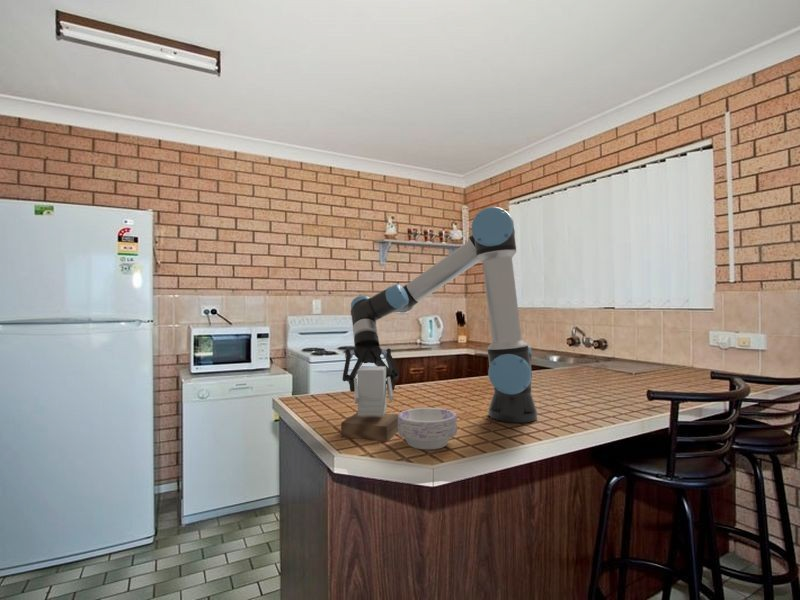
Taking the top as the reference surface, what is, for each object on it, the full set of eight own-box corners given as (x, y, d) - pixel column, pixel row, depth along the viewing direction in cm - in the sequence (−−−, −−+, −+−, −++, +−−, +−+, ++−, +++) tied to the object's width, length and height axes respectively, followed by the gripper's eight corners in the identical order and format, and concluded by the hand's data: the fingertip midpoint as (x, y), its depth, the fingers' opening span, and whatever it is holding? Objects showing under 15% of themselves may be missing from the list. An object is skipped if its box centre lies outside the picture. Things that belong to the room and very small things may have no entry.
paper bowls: (391, 438, 115) (391, 408, 115) (443, 433, 119) (443, 405, 119) (407, 457, 100) (407, 423, 101) (466, 451, 105) (466, 419, 105)
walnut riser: (401, 428, 124) (401, 414, 124) (386, 442, 111) (386, 426, 112) (359, 424, 128) (359, 411, 128) (341, 437, 115) (341, 422, 115)
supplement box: (387, 409, 123) (387, 366, 123) (383, 416, 116) (383, 369, 116) (361, 409, 124) (362, 365, 124) (356, 415, 116) (357, 369, 117)
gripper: (397, 344, 137) (410, 405, 122) (330, 345, 132) (333, 409, 117) (401, 328, 132) (414, 390, 117) (331, 329, 127) (335, 393, 112)
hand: (374, 399), depth 117 cm, fingers closed on supplement box, 9 cm apart
